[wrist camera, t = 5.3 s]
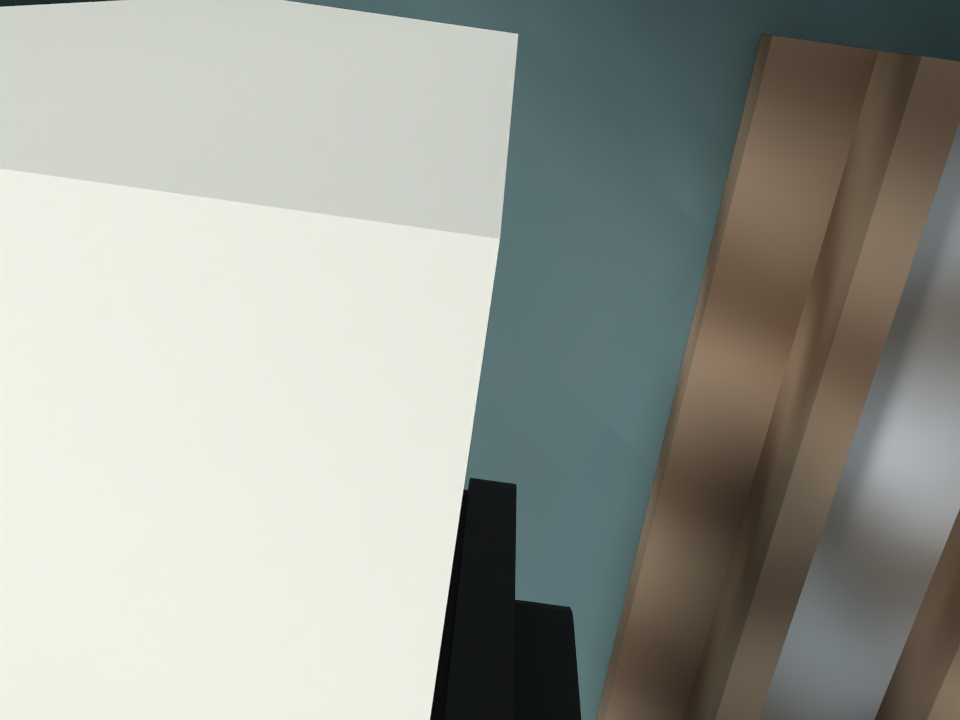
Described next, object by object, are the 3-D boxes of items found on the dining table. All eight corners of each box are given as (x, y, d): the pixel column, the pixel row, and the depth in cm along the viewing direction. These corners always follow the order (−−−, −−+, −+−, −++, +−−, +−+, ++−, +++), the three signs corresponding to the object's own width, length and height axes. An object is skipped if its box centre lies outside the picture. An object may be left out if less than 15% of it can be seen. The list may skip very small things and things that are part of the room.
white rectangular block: (240, -7, 9) (-836, 49, 2) (518, 34, 9) (502, 240, 2) (226, 786, 14) (-93, 1657, 7) (408, 811, 14) (286, 1704, 7)
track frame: (761, 33, 21) (802, 38, 18) (1248, 104, 21) (1374, 121, 18) (576, 802, 31) (581, 891, 28) (907, 849, 31) (949, 944, 28)
